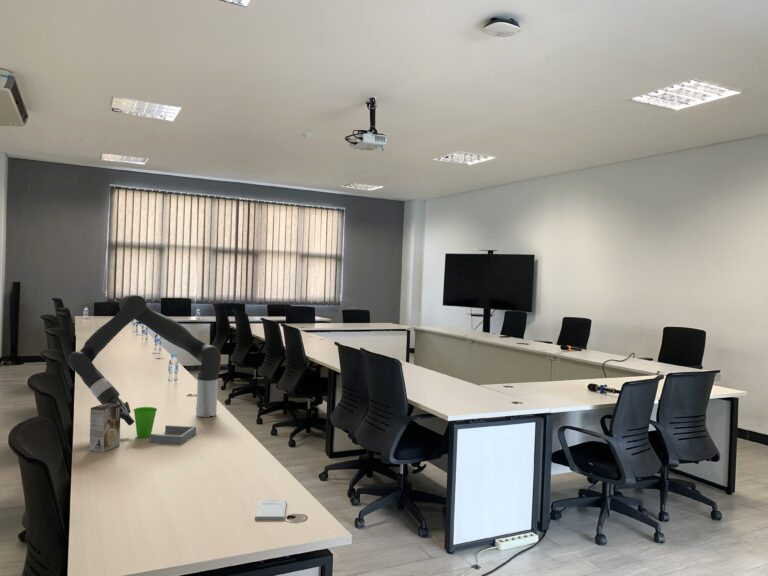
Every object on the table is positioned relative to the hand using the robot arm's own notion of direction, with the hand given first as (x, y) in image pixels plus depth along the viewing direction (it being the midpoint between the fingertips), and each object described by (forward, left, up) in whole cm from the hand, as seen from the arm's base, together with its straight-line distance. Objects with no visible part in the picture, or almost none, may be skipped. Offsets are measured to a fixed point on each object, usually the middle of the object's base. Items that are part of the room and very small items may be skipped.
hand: (132, 423), depth 236 cm
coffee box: (+18, -2, -5) cm, 19 cm away
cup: (0, +5, -5) cm, 7 cm away
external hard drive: (+65, +74, -6) cm, 98 cm away
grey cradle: (0, +16, -5) cm, 17 cm away
